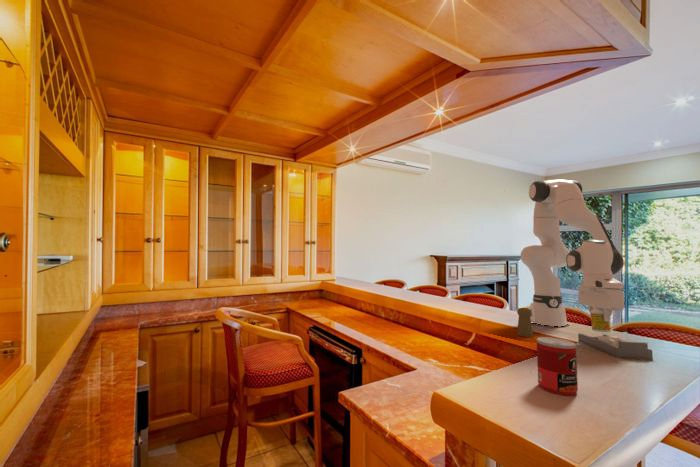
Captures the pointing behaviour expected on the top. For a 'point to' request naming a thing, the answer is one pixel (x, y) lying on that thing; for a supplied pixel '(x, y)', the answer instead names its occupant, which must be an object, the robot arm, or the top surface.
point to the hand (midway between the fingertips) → (600, 319)
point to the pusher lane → (623, 351)
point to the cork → (524, 323)
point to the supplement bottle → (599, 320)
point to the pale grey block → (609, 340)
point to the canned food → (557, 366)
